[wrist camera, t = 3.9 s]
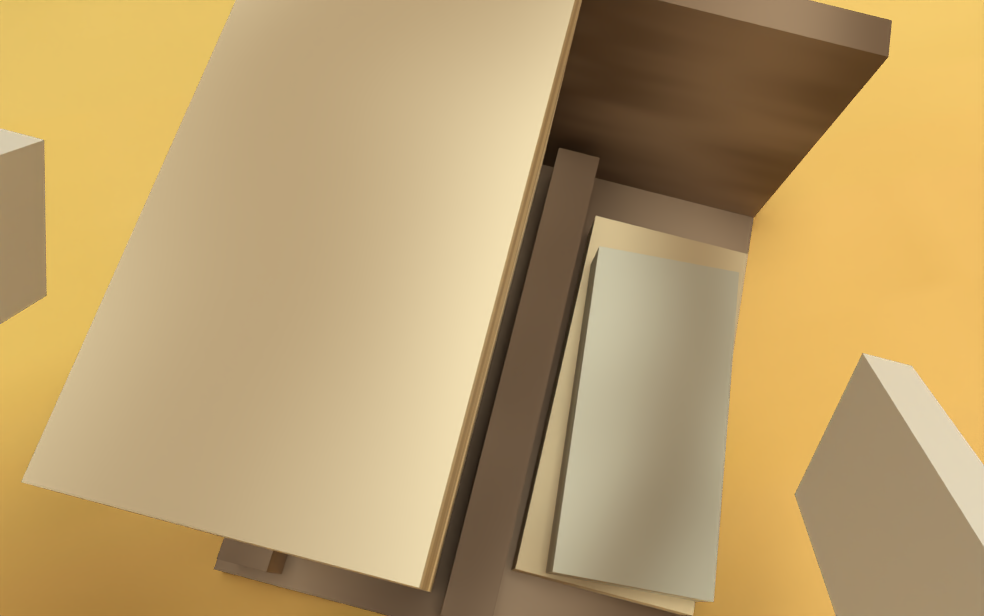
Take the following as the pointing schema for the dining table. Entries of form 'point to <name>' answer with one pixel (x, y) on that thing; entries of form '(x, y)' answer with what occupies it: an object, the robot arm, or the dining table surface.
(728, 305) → the offcut stack
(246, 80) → the birch board
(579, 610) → the walnut rack
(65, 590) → the dining table surface
